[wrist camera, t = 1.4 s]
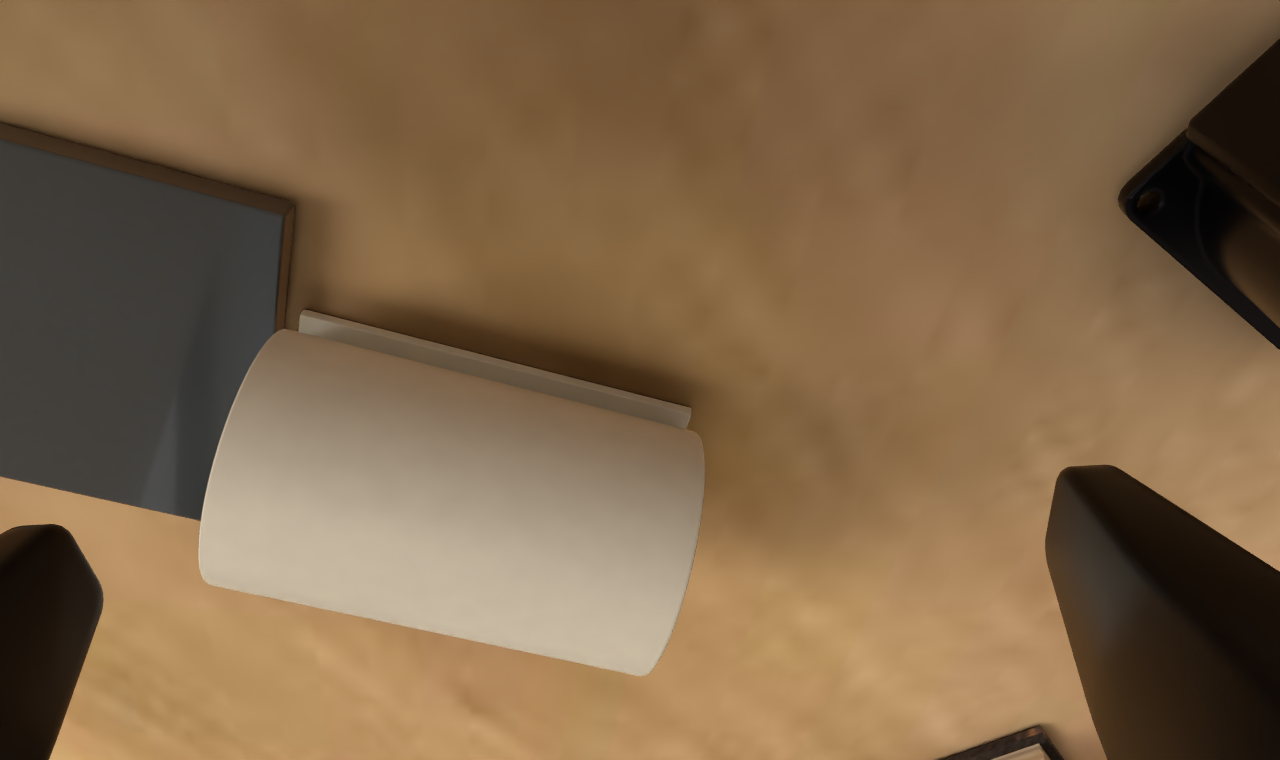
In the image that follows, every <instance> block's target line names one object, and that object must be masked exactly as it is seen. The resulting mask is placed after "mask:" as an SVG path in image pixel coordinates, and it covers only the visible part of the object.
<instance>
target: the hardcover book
mask: <svg viewBox="0 0 1280 760" xmlns="http://www.w3.org/2000/svg"><path fill="white" fill-rule="evenodd" d="M943 760H1064V759H1063V758H1062V756H1061V755H1060V754H1059V752H1058V751H1057V749H1056V748H1055V747H1054V745H1053V744H1052V742H1051V741H1050V740H1049V738H1048V737H1047V735H1046V734H1045V733H1044V731H1043V730H1042V728H1041V727H1040V726H1037V727H1034V728H1031V729H1028V730H1025V731H1023V732H1020V733H1017V734H1014V735H1011V736H1008V737H1005V738H1003V739H1000V740H997V741H994V742H991V743H988V744H986V745H983V746H980V747H977V748H974V749H971V750H968V751H966V752H963V753H960V754H957V755H954V756H951V757H949V758H946V759H943Z"/></svg>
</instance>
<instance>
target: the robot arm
mask: <svg viewBox="0 0 1280 760" xmlns="http://www.w3.org/2000/svg"><path fill="white" fill-rule="evenodd" d="M1148 192H1154V195H1153V198H1152V199H1151V200H1150V202H1149V203H1147V204H1145V205H1143V206H1137V204H1138V200H1139V199H1140V198H1141V196H1143V195H1144V194H1146V193H1148ZM1118 204H1119V207H1120V209H1121V210H1122V212H1123V213H1124V214H1125V215H1126V216H1127V217H1128V218H1129V219H1130V220H1131V221H1132V222H1133V223H1134V224H1136V225H1137V226H1138V227H1139V228H1140V229H1141V230H1143V231H1144V232H1145V233H1146V234H1147V235H1148V236H1149V237H1151V238H1152V239H1153V240H1154V241H1155V242H1156V243H1157V244H1159V245H1160V246H1161V247H1162V248H1163V249H1164V250H1165V251H1167V252H1168V253H1169V254H1170V255H1171V256H1172V257H1173V258H1175V259H1176V260H1177V261H1178V262H1179V263H1180V264H1182V265H1183V266H1184V267H1185V268H1186V269H1187V270H1188V271H1190V272H1191V273H1192V274H1193V275H1194V276H1195V277H1196V278H1198V279H1199V280H1200V281H1201V282H1202V283H1203V284H1204V285H1206V286H1207V287H1208V288H1209V289H1210V290H1211V291H1212V292H1214V293H1215V294H1216V295H1217V296H1218V297H1219V298H1221V299H1222V300H1223V301H1224V302H1225V303H1226V304H1227V305H1229V306H1230V307H1231V308H1232V309H1233V310H1234V311H1235V312H1237V313H1238V314H1239V315H1240V316H1241V317H1242V318H1243V319H1245V320H1246V321H1247V322H1248V323H1249V324H1250V325H1251V326H1253V327H1254V328H1255V329H1256V330H1257V331H1258V332H1260V333H1261V334H1262V335H1263V336H1264V337H1265V338H1266V339H1268V340H1269V341H1270V342H1271V343H1272V344H1273V345H1274V346H1276V347H1277V348H1278V349H1280V39H1279V40H1278V41H1277V42H1276V43H1275V44H1274V45H1272V46H1271V47H1270V48H1269V49H1268V50H1267V51H1266V52H1265V53H1264V54H1263V55H1261V56H1260V57H1259V58H1258V59H1257V60H1256V61H1255V62H1254V63H1253V64H1252V65H1251V66H1249V67H1248V68H1247V69H1246V70H1245V71H1244V72H1243V73H1242V74H1241V75H1240V76H1238V77H1237V78H1236V79H1235V80H1234V81H1233V82H1232V83H1231V84H1230V85H1229V86H1228V87H1226V88H1225V89H1224V90H1223V91H1222V92H1221V93H1220V94H1219V95H1218V96H1217V97H1215V98H1214V99H1213V100H1212V101H1211V102H1210V103H1209V104H1208V105H1207V106H1206V107H1205V108H1203V109H1202V110H1201V111H1200V112H1199V113H1198V114H1197V115H1196V116H1195V117H1194V118H1192V119H1191V121H1190V123H1189V126H1188V128H1186V129H1185V130H1184V131H1183V132H1182V133H1181V134H1180V135H1179V136H1178V137H1177V138H1176V139H1174V140H1173V141H1172V142H1171V143H1170V144H1169V145H1168V146H1167V147H1166V148H1165V149H1163V150H1162V151H1161V152H1160V153H1159V154H1158V155H1157V156H1156V157H1155V158H1154V159H1152V160H1151V161H1150V162H1149V163H1148V164H1147V165H1146V166H1145V167H1144V168H1143V169H1141V170H1140V171H1139V172H1138V173H1137V174H1136V175H1135V176H1134V177H1133V178H1132V179H1130V180H1129V181H1128V182H1127V183H1126V185H1125V186H1124V187H1123V188H1122V190H1121V192H1120V194H1119V197H1118ZM1045 551H1046V559H1047V564H1048V568H1049V572H1050V575H1051V579H1052V582H1053V586H1054V589H1055V593H1056V596H1057V599H1058V603H1059V606H1060V610H1061V613H1062V617H1063V620H1064V624H1065V627H1066V631H1067V634H1068V638H1069V641H1070V645H1071V648H1072V652H1073V655H1074V659H1075V662H1076V666H1077V669H1078V673H1079V676H1080V680H1081V683H1082V687H1083V690H1084V694H1085V697H1086V700H1087V704H1088V707H1089V710H1090V713H1091V716H1092V720H1093V723H1094V726H1095V728H1096V731H1097V734H1098V736H1099V739H1100V741H1101V744H1102V747H1103V749H1104V752H1105V754H1106V757H1107V759H1108V760H1280V572H1279V571H1278V570H1276V569H1275V568H1273V567H1271V566H1270V565H1268V564H1267V563H1265V562H1264V561H1262V560H1261V559H1259V558H1257V557H1256V556H1254V555H1253V554H1251V553H1250V552H1248V551H1247V550H1245V549H1243V548H1242V547H1240V546H1239V545H1237V544H1236V543H1234V542H1233V541H1231V540H1229V539H1228V538H1226V537H1225V536H1223V535H1222V534H1220V533H1219V532H1217V531H1215V530H1214V529H1212V528H1211V527H1209V526H1208V525H1206V524H1205V523H1203V522H1201V521H1200V520H1198V519H1197V518H1195V517H1194V516H1192V515H1191V514H1189V513H1187V512H1186V511H1184V510H1183V509H1181V508H1180V507H1178V506H1177V505H1175V504H1173V503H1172V502H1170V501H1169V500H1167V499H1166V498H1164V497H1163V496H1161V495H1159V494H1158V493H1156V492H1155V491H1153V490H1152V489H1150V488H1149V487H1147V486H1145V485H1144V484H1142V483H1141V482H1139V481H1138V480H1136V479H1135V478H1133V477H1131V476H1130V475H1128V474H1127V473H1125V472H1124V471H1122V470H1120V469H1119V468H1117V467H1115V466H1111V465H1090V466H1073V467H1067V468H1065V469H1064V470H1062V471H1061V472H1060V474H1059V476H1058V478H1057V481H1056V485H1055V490H1054V495H1053V501H1052V506H1051V511H1050V517H1049V522H1048V527H1047V532H1046V539H1045ZM102 608H103V591H102V587H101V584H100V582H99V580H98V579H97V577H96V575H95V573H94V572H93V570H92V568H91V567H90V565H89V563H88V562H87V560H86V558H85V556H84V555H83V553H82V551H81V550H80V548H79V546H78V545H77V543H76V541H75V539H74V538H73V536H72V535H71V533H70V532H69V531H68V530H66V529H65V528H63V527H62V526H59V525H55V524H45V525H27V526H19V527H15V528H11V529H9V530H7V531H5V532H4V533H2V534H0V760H49V758H50V755H51V753H52V750H53V747H54V745H55V742H56V740H57V737H58V734H59V731H60V729H61V726H62V723H63V720H64V717H65V714H66V712H67V709H68V706H69V703H70V700H71V697H72V695H73V692H74V689H75V686H76V683H77V680H78V678H79V675H80V672H81V669H82V666H83V663H84V661H85V658H86V655H87V652H88V649H89V646H90V644H91V641H92V638H93V635H94V632H95V629H96V627H97V624H98V621H99V618H100V615H101V612H102Z"/></svg>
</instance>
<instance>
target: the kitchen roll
mask: <svg viewBox="0 0 1280 760" xmlns="http://www.w3.org/2000/svg"><path fill="white" fill-rule="evenodd" d="M690 417H691V408H689V407H685V406H681V405H677V404H673V403H670V402H666V401H662V400H658V399H654V398H650V397H646V396H642V395H638V394H634V393H630V392H626V391H623V390H619V389H615V388H611V387H607V386H603V385H599V384H595V383H591V382H587V381H583V380H579V379H576V378H572V377H568V376H564V375H560V374H556V373H552V372H548V371H544V370H540V369H536V368H533V367H529V366H525V365H521V364H517V363H513V362H509V361H505V360H501V359H497V358H493V357H489V356H486V355H482V354H478V353H474V352H470V351H466V350H462V349H458V348H454V347H450V346H446V345H442V344H439V343H435V342H431V341H427V340H423V339H419V338H415V337H411V336H407V335H403V334H399V333H395V332H392V331H388V330H384V329H380V328H376V327H372V326H368V325H364V324H360V323H356V322H352V321H348V320H345V319H341V318H337V317H333V316H329V315H325V314H321V313H317V312H313V311H309V310H305V309H304V310H303V311H302V312H301V314H300V318H299V327H298V332H297V331H293V330H289V329H282V330H279V331H277V332H276V333H275V334H273V335H272V336H271V337H270V338H269V339H268V341H267V342H266V343H265V344H264V346H263V347H262V348H261V350H260V351H259V353H258V354H257V356H256V358H255V359H254V361H253V363H252V364H251V366H250V368H249V370H248V372H247V374H246V376H245V378H244V380H243V382H242V384H241V386H240V388H239V391H238V393H237V395H236V398H235V400H234V402H233V405H232V407H231V410H230V413H229V415H228V418H227V421H226V423H225V426H224V429H223V432H222V435H221V438H220V441H219V444H218V448H217V451H216V454H215V458H214V461H213V465H212V469H211V473H210V476H209V480H208V485H207V489H206V494H205V499H204V504H203V510H202V516H201V524H200V532H199V567H200V572H201V576H202V578H203V579H204V581H205V582H206V583H208V584H209V585H212V586H217V587H222V588H226V589H231V590H236V591H241V592H245V593H250V594H255V595H259V596H264V597H269V598H274V599H278V600H283V601H288V602H293V603H297V604H302V605H307V606H311V607H316V608H321V609H326V610H330V611H335V612H340V613H344V614H349V615H354V616H359V617H363V618H368V619H373V620H377V621H382V622H387V623H392V624H396V625H401V626H406V627H410V628H415V629H420V630H425V631H429V632H434V633H439V634H444V635H448V636H453V637H458V638H462V639H467V640H472V641H477V642H481V643H486V644H491V645H495V646H500V647H505V648H510V649H514V650H519V651H524V652H528V653H533V654H538V655H543V656H547V657H552V658H557V659H562V660H566V661H571V662H576V663H580V664H585V665H590V666H595V667H599V668H604V669H609V670H613V671H618V672H623V673H628V674H632V675H637V676H644V675H647V674H648V673H650V672H651V671H652V669H653V668H654V667H655V666H656V664H657V663H658V661H659V659H660V658H661V656H662V654H663V652H664V650H665V648H666V646H667V644H668V641H669V639H670V637H671V634H672V632H673V629H674V627H675V624H676V621H677V618H678V615H679V612H680V609H681V606H682V603H683V600H684V596H685V593H686V589H687V586H688V582H689V578H690V574H691V570H692V565H693V561H694V556H695V552H696V546H697V541H698V536H699V530H700V523H701V517H702V509H703V500H704V488H705V457H704V448H703V443H702V440H701V438H700V436H699V435H698V434H697V433H696V432H694V431H690V430H686V427H687V424H688V422H689V419H690Z"/></svg>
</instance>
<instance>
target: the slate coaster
mask: <svg viewBox="0 0 1280 760" xmlns="http://www.w3.org/2000/svg"><path fill="white" fill-rule="evenodd" d="M294 212H295V204H294V203H293V202H290V201H286V200H283V199H279V198H275V197H271V196H268V195H264V194H260V193H257V192H253V191H249V190H246V189H242V188H238V187H235V186H231V185H227V184H223V183H220V182H216V181H212V180H209V179H205V178H201V177H198V176H194V175H190V174H187V173H183V172H179V171H175V170H172V169H168V168H164V167H161V166H157V165H153V164H150V163H146V162H142V161H138V160H135V159H131V158H127V157H124V156H120V155H116V154H113V153H109V152H105V151H102V150H98V149H94V148H90V147H87V146H83V145H79V144H76V143H72V142H68V141H65V140H61V139H57V138H54V137H50V136H46V135H42V134H39V133H35V132H31V131H28V130H24V129H20V128H17V127H13V126H9V125H5V124H2V123H0V477H4V478H9V479H13V480H18V481H22V482H27V483H31V484H36V485H40V486H45V487H50V488H54V489H59V490H63V491H68V492H72V493H77V494H81V495H86V496H90V497H95V498H99V499H104V500H108V501H113V502H117V503H122V504H126V505H131V506H136V507H140V508H145V509H149V510H154V511H158V512H163V513H167V514H172V515H176V516H181V517H185V518H190V519H194V520H199V521H201V516H202V510H203V504H204V499H205V494H206V489H207V485H208V480H209V476H210V473H211V469H212V465H213V461H214V458H215V454H216V451H217V448H218V444H219V441H220V438H221V435H222V432H223V429H224V426H225V423H226V421H227V418H228V415H229V413H230V410H231V407H232V405H233V402H234V400H235V398H236V395H237V393H238V391H239V388H240V386H241V384H242V382H243V380H244V378H245V376H246V374H247V372H248V370H249V368H250V366H251V364H252V363H253V361H254V359H255V358H256V356H257V354H258V353H259V351H260V350H261V348H262V347H263V346H264V344H265V343H266V342H267V341H268V339H269V338H270V337H271V336H272V335H273V334H275V333H276V332H277V331H279V330H282V329H284V319H285V308H286V297H287V287H288V276H289V265H290V255H291V244H292V234H293V223H294Z"/></svg>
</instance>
